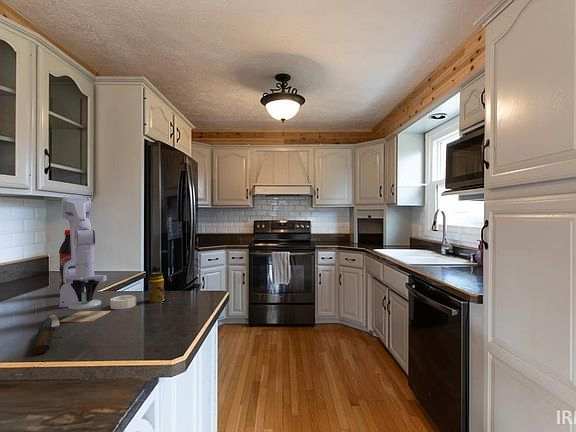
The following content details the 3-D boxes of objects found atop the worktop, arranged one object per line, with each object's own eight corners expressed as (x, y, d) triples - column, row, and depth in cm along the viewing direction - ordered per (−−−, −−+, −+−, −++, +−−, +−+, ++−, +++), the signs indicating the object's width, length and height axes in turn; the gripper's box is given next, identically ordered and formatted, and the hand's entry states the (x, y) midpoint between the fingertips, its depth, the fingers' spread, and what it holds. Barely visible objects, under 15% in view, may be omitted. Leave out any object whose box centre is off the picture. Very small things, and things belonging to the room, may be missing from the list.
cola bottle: (55, 295, 152) (54, 229, 152) (73, 291, 160) (72, 229, 160) (67, 296, 149) (66, 230, 149) (85, 292, 157) (84, 229, 157)
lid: (61, 309, 114) (61, 295, 114) (80, 301, 124) (79, 289, 124) (91, 309, 114) (90, 295, 114) (106, 301, 124) (106, 288, 124)
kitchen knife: (56, 341, 90) (33, 347, 87) (57, 349, 90) (34, 355, 87) (60, 309, 119) (43, 313, 117) (61, 315, 120) (44, 319, 117)
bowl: (105, 310, 128) (105, 301, 128) (118, 303, 137) (118, 295, 137) (129, 310, 128) (128, 300, 128) (139, 303, 137) (139, 295, 137)
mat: (57, 322, 113) (57, 321, 113) (79, 312, 125) (79, 311, 125) (92, 322, 113) (92, 321, 113) (111, 312, 125) (111, 311, 125)
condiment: (166, 301, 139) (166, 273, 139) (145, 305, 135) (144, 275, 135) (162, 298, 146) (162, 270, 145) (141, 301, 141) (141, 272, 141)
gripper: (56, 265, 115) (57, 304, 116) (98, 265, 115) (98, 304, 115) (70, 262, 122) (71, 298, 123) (109, 262, 122) (110, 298, 122)
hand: (85, 301), depth 119 cm, fingers closed on lid, 2 cm apart
